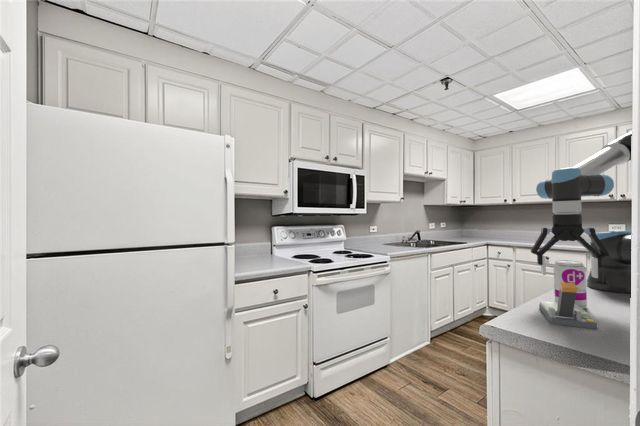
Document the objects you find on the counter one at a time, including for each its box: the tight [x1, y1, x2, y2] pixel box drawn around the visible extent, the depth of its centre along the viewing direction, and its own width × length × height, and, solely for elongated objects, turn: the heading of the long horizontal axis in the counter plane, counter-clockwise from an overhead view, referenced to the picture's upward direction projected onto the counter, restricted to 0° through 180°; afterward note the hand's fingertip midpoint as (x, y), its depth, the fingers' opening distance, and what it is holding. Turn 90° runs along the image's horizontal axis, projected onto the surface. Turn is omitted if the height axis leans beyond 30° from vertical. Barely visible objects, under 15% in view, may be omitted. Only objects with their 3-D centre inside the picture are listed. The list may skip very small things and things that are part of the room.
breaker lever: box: [555, 282, 577, 318], centre depth 81 cm, size 4×2×11 cm, turn 64°
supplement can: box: [553, 259, 588, 310], centre depth 96 cm, size 8×8×15 cm
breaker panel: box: [538, 300, 598, 330], centre depth 86 cm, size 10×14×4 cm
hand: (568, 275), depth 96 cm, fingers open, 13 cm apart
